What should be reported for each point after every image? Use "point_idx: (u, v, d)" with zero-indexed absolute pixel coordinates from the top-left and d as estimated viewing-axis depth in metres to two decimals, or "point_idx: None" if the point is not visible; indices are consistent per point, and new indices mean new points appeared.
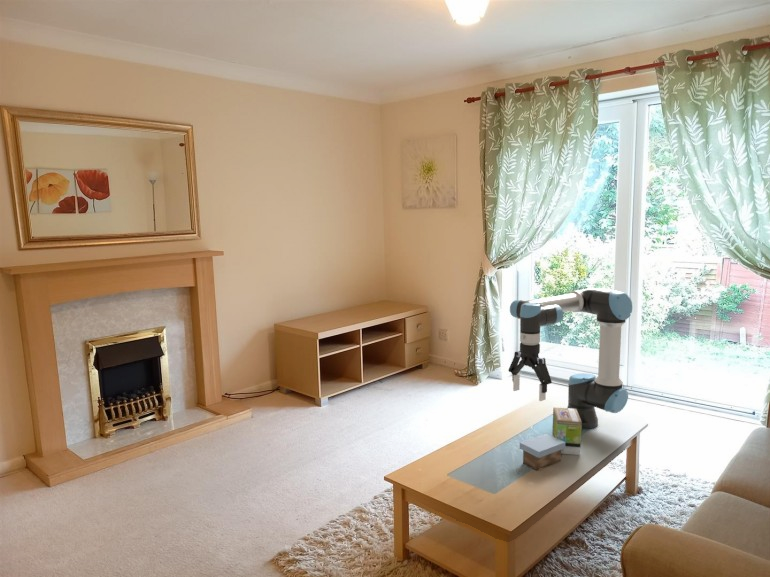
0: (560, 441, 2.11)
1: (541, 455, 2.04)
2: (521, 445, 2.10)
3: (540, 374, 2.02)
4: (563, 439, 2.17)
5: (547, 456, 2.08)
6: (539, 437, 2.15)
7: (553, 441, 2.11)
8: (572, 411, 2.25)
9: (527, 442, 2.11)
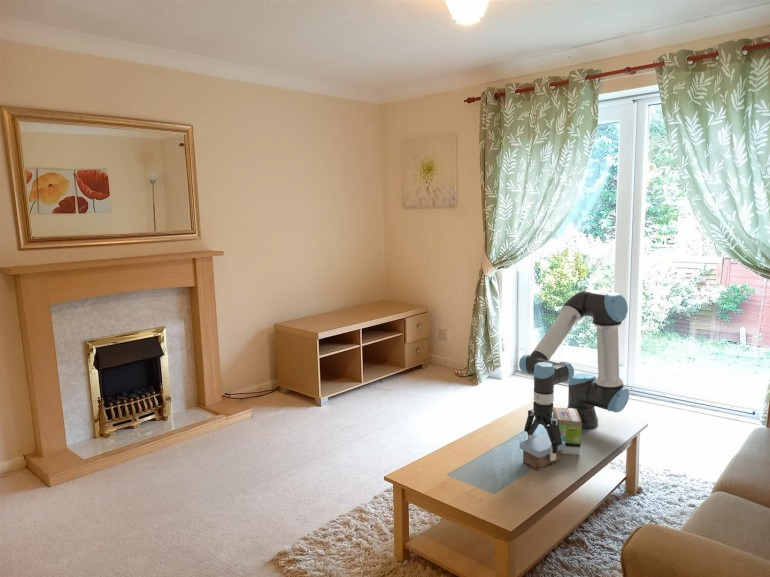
0: None
1: (541, 455, 2.04)
2: (521, 445, 2.10)
3: (552, 435, 2.05)
4: (563, 439, 2.17)
5: (547, 456, 2.08)
6: (539, 437, 2.15)
7: None
8: (572, 411, 2.25)
9: (527, 442, 2.11)
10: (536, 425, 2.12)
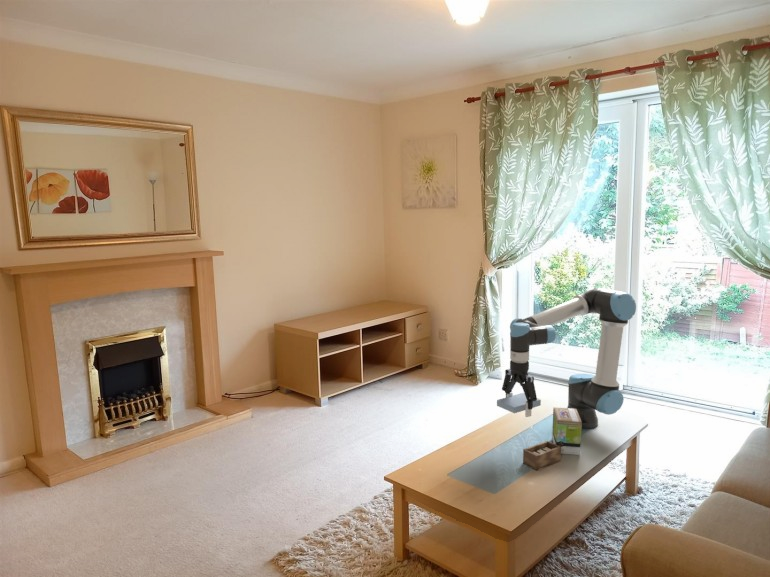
0: None
1: (517, 411, 2.12)
2: (498, 402, 2.19)
3: (527, 391, 2.14)
4: (563, 439, 2.17)
5: (547, 456, 2.08)
6: (516, 396, 2.24)
7: None
8: (572, 411, 2.25)
9: (504, 399, 2.20)
10: (513, 384, 2.21)
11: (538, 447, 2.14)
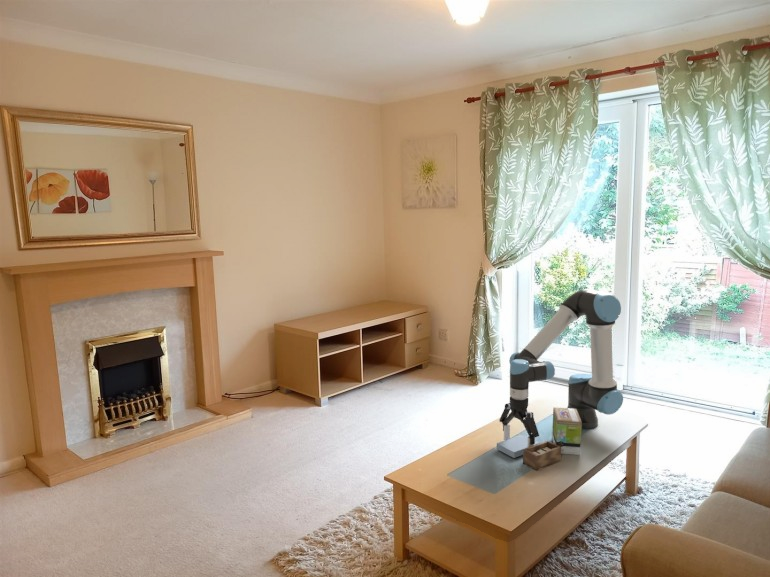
0: (535, 442, 2.23)
1: (516, 455, 2.15)
2: (498, 446, 2.22)
3: (528, 427, 2.16)
4: (563, 439, 2.17)
5: (547, 456, 2.08)
6: (515, 438, 2.27)
7: None
8: (572, 411, 2.25)
9: (504, 443, 2.23)
10: (511, 417, 2.24)
11: (538, 447, 2.14)
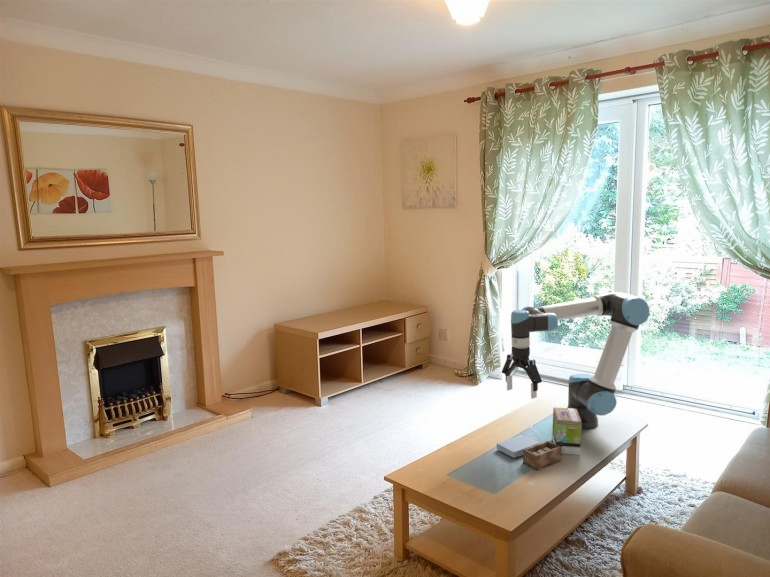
0: (535, 442, 2.23)
1: (516, 455, 2.15)
2: (498, 446, 2.22)
3: (531, 374, 2.23)
4: (563, 439, 2.17)
5: (547, 456, 2.08)
6: (515, 438, 2.27)
7: (528, 442, 2.23)
8: (572, 411, 2.25)
9: (504, 443, 2.23)
10: (513, 367, 2.31)
11: (538, 447, 2.14)
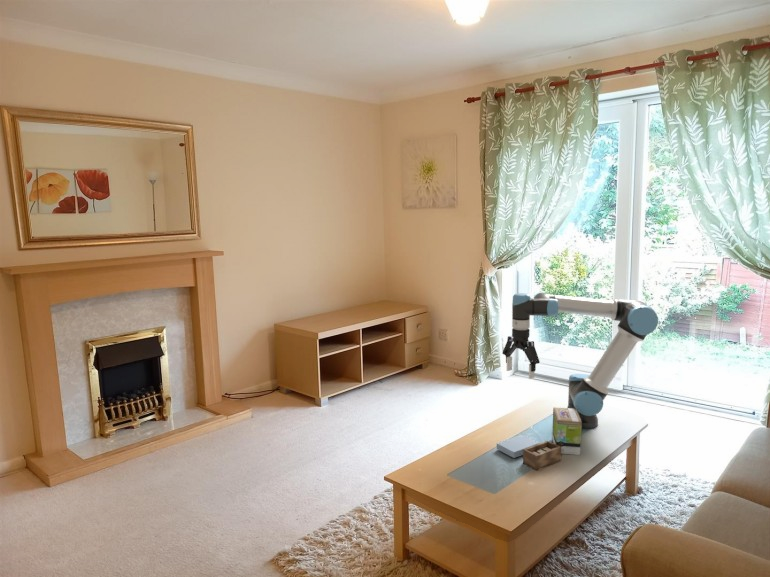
0: (535, 442, 2.23)
1: (516, 455, 2.15)
2: (498, 446, 2.22)
3: (529, 355, 2.31)
4: (563, 439, 2.17)
5: (547, 456, 2.08)
6: (515, 438, 2.27)
7: (528, 442, 2.23)
8: (572, 411, 2.25)
9: (504, 443, 2.23)
10: (513, 349, 2.40)
11: (538, 447, 2.14)
